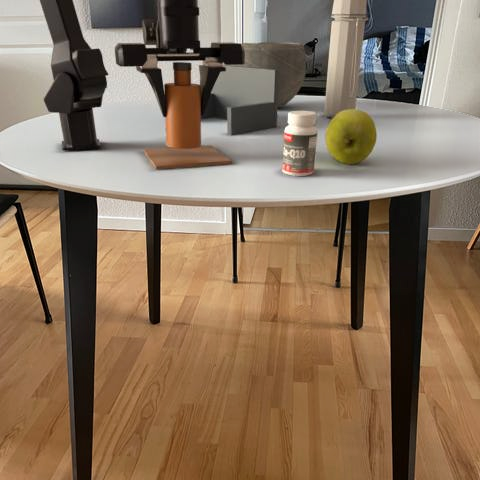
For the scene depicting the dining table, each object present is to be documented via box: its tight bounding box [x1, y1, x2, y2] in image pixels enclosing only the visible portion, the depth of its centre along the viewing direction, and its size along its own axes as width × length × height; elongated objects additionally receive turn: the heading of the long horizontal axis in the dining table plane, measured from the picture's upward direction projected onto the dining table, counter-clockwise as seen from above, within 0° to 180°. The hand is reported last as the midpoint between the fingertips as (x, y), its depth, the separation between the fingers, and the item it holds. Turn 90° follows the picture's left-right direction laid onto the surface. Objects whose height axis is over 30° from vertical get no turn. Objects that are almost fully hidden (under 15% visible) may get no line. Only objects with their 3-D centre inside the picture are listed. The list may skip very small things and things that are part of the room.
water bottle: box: [323, 0, 369, 119], centre depth 111 cm, size 9×8×25 cm
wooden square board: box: [143, 144, 232, 171], centre depth 82 cm, size 12×12×1 cm
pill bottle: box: [282, 110, 318, 177], centre depth 72 cm, size 5×5×8 cm
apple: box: [325, 108, 378, 165], centre depth 78 cm, size 8×9×8 cm
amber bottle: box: [163, 61, 202, 149], centre depth 78 cm, size 6×6×12 cm
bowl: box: [223, 41, 307, 107], centre depth 127 cm, size 21×21×15 cm
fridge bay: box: [201, 64, 279, 136], centre depth 106 cm, size 13×20×11 cm, turn 43°
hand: (183, 115), depth 79 cm, fingers closed on amber bottle, 6 cm apart
